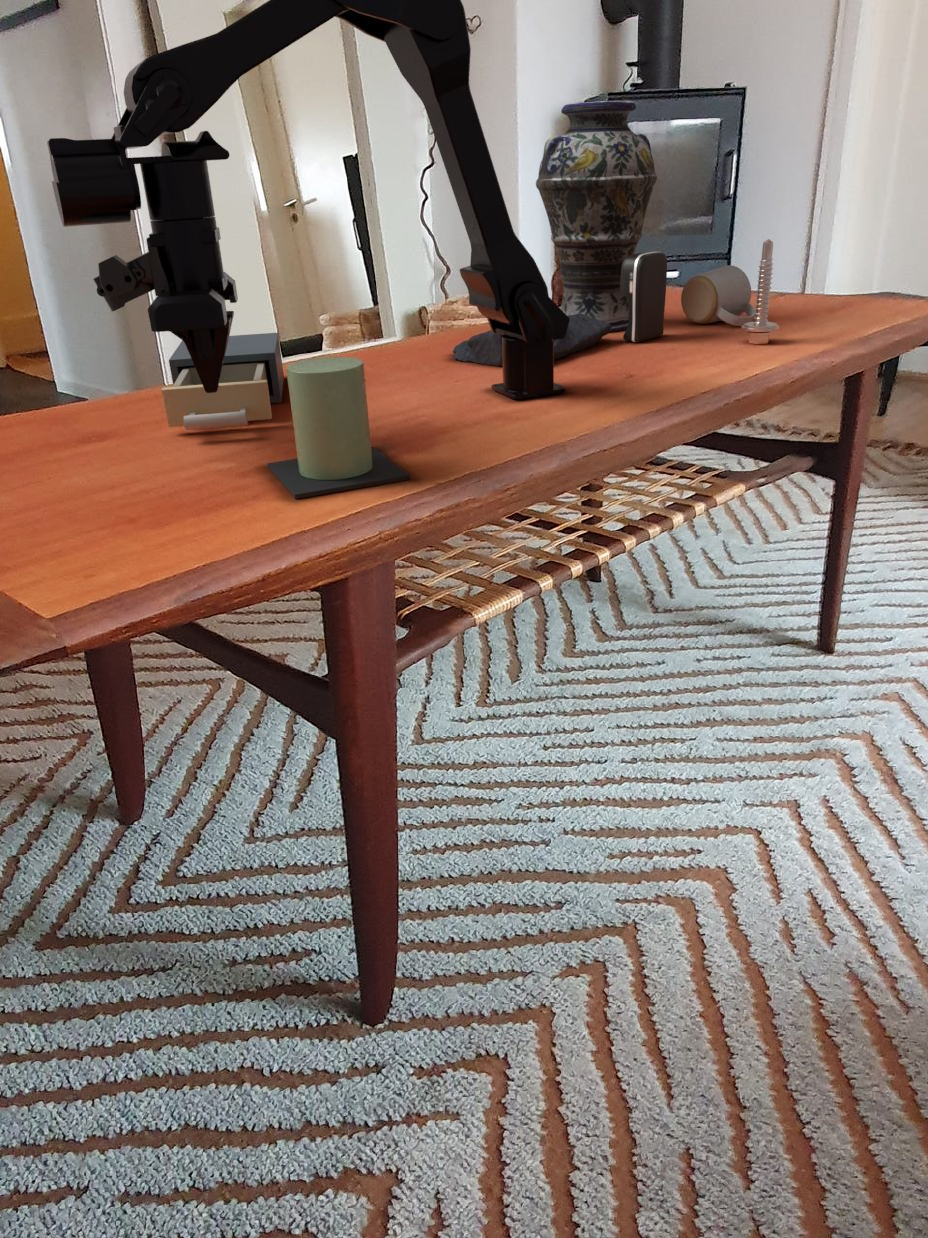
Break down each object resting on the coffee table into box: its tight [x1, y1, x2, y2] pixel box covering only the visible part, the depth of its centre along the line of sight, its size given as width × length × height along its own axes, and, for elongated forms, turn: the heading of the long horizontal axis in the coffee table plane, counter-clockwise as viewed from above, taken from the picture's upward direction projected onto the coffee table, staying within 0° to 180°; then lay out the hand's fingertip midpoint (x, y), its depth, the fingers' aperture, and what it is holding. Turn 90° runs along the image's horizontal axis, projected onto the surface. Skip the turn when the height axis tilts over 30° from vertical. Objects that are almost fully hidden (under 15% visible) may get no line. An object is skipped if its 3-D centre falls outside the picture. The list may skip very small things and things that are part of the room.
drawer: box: [161, 361, 273, 431], centre depth 99 cm, size 16×10×4 cm, turn 9°
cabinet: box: [168, 332, 285, 404], centre depth 111 cm, size 14×12×6 cm
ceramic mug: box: [680, 265, 756, 327], centre depth 139 cm, size 11×8×8 cm
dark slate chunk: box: [452, 313, 612, 367], centre depth 127 cm, size 15×22×5 cm
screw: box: [740, 238, 780, 345], centre depth 123 cm, size 13×5×5 cm
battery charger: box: [620, 251, 668, 343], centre depth 130 cm, size 7×4×11 cm, turn 137°
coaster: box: [267, 446, 411, 500], centre depth 82 cm, size 10×10×1 cm
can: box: [285, 356, 373, 480], centre depth 80 cm, size 6×6×9 cm
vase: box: [535, 100, 658, 333], centre depth 136 cm, size 17×17×30 cm
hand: (211, 391), depth 91 cm, fingers closed
